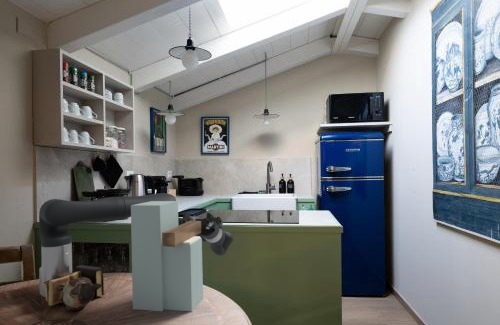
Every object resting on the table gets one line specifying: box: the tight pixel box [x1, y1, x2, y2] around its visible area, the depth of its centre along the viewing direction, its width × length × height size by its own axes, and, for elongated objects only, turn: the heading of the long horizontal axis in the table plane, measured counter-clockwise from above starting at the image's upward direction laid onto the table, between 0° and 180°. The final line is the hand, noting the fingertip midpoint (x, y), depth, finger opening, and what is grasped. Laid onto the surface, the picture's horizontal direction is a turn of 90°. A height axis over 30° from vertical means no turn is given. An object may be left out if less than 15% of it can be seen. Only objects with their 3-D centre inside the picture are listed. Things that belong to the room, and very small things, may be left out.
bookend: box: [43, 264, 105, 311], centre depth 101 cm, size 15×11×25 cm
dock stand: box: [130, 200, 204, 312], centre depth 100 cm, size 19×12×32 cm, turn 77°
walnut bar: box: [162, 221, 201, 247], centre depth 100 cm, size 4×20×4 cm, turn 167°
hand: (196, 214), depth 108 cm, fingers open, 8 cm apart
